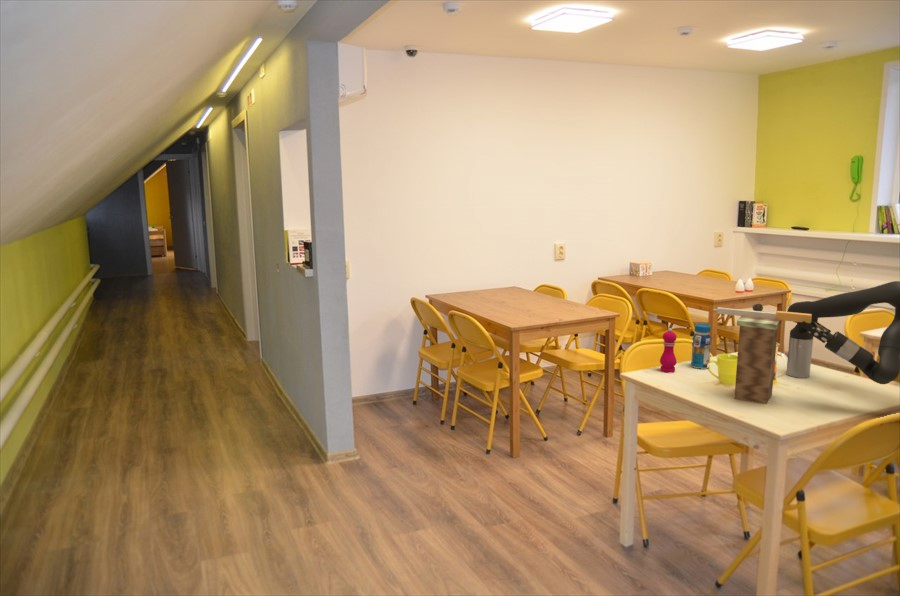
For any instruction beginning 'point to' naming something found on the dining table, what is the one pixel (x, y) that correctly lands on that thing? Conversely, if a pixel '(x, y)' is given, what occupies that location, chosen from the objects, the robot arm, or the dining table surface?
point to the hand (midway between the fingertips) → (802, 321)
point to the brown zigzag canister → (756, 358)
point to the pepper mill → (668, 352)
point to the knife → (767, 314)
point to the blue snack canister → (701, 346)
